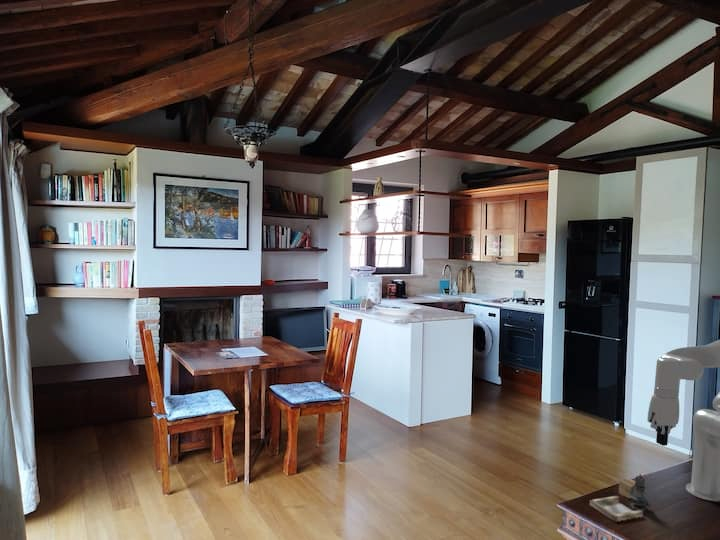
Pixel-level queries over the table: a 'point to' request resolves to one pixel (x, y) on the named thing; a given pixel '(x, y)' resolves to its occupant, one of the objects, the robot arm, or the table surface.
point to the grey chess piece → (638, 494)
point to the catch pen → (614, 509)
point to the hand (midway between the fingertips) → (661, 444)
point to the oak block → (626, 487)
